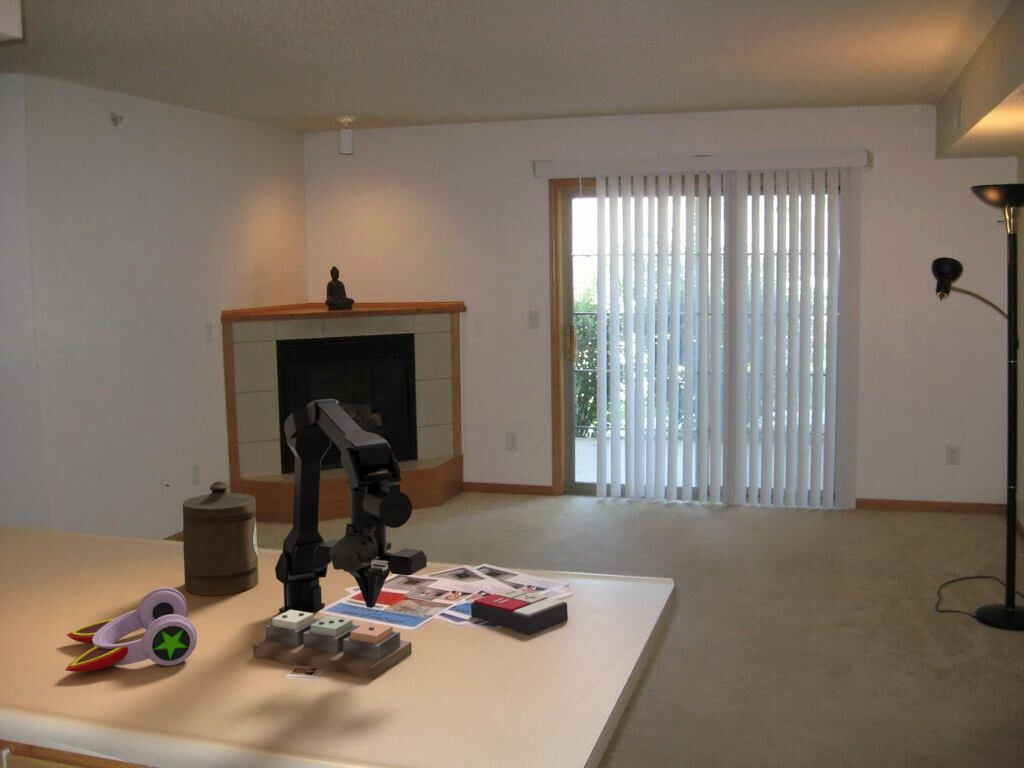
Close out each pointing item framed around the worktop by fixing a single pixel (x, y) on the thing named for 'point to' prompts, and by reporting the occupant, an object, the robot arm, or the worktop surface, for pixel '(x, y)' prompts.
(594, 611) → the worktop surface
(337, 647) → the button panel
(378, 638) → the button terracotta
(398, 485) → the robot arm
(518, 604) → the calculator
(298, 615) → the button cream
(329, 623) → the button sage
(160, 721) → the worktop surface
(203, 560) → the wooden container
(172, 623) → the headphones
